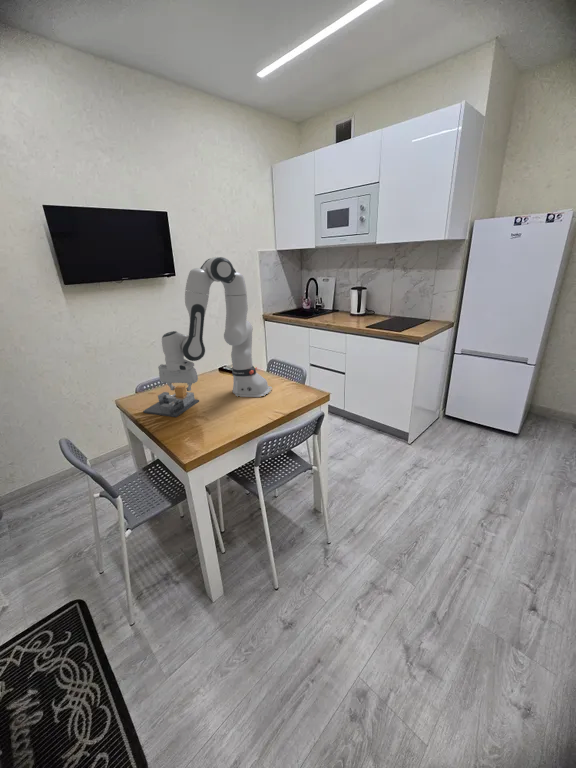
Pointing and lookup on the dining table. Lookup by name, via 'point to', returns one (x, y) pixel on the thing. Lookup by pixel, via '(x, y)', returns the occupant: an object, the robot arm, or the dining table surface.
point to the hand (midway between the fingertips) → (181, 390)
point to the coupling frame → (172, 404)
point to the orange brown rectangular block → (180, 391)
